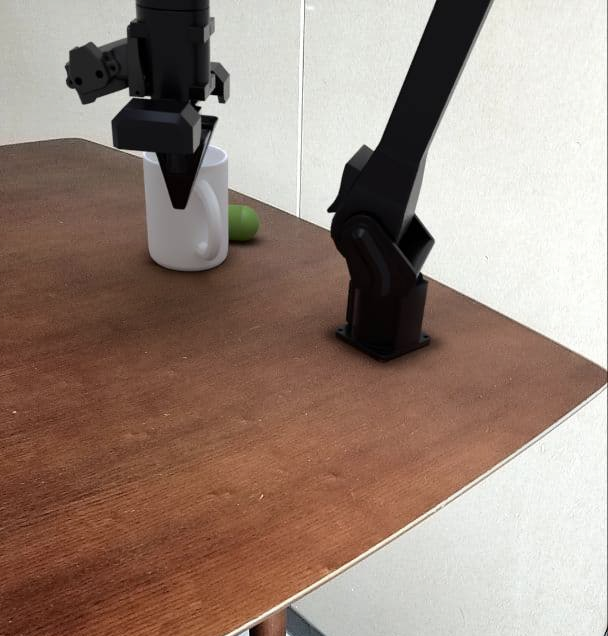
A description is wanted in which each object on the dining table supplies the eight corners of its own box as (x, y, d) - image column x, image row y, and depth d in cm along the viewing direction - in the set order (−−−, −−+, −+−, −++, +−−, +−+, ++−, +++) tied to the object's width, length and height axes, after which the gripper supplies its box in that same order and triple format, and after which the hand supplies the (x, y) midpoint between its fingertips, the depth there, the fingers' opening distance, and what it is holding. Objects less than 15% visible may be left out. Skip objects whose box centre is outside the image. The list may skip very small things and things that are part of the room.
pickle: (260, 234, 97) (261, 202, 95) (257, 247, 94) (257, 213, 92) (175, 228, 97) (174, 195, 95) (169, 240, 94) (167, 206, 92)
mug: (255, 280, 87) (257, 175, 81) (177, 292, 84) (173, 184, 78) (210, 237, 95) (209, 138, 89) (138, 247, 92) (131, 145, 86)
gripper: (102, -21, 74) (117, 167, 84) (30, 17, 60) (58, 238, 70) (231, -11, 74) (230, 178, 84) (188, 30, 60) (194, 251, 70)
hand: (179, 208), depth 77 cm, fingers closed
